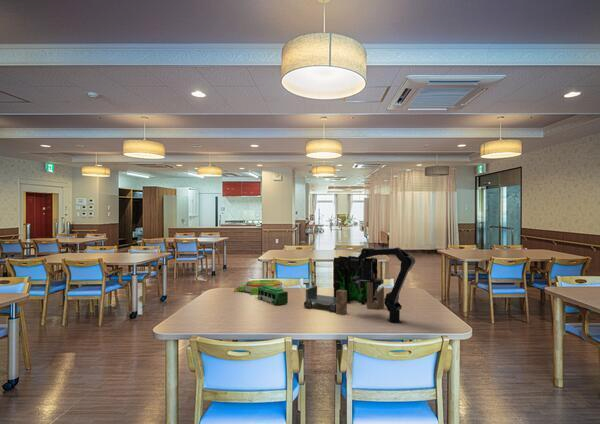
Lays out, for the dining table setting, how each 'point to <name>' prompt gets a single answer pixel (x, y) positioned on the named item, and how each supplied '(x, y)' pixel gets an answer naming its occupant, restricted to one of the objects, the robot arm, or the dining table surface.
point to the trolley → (319, 299)
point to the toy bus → (273, 294)
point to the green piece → (258, 285)
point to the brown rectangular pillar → (341, 302)
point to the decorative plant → (343, 279)
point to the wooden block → (370, 297)
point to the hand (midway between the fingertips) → (367, 294)
